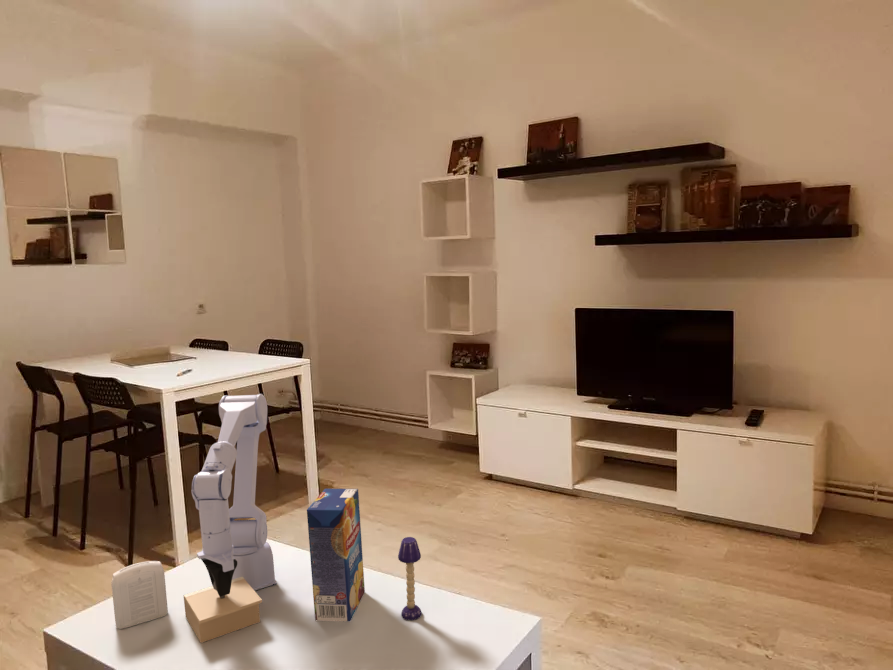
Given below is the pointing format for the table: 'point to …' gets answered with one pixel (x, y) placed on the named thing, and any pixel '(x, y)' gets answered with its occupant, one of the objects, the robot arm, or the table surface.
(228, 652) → the table surface
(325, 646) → the table surface
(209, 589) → the lid
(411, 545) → the toy lamp
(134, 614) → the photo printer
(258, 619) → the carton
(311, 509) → the juice carton
